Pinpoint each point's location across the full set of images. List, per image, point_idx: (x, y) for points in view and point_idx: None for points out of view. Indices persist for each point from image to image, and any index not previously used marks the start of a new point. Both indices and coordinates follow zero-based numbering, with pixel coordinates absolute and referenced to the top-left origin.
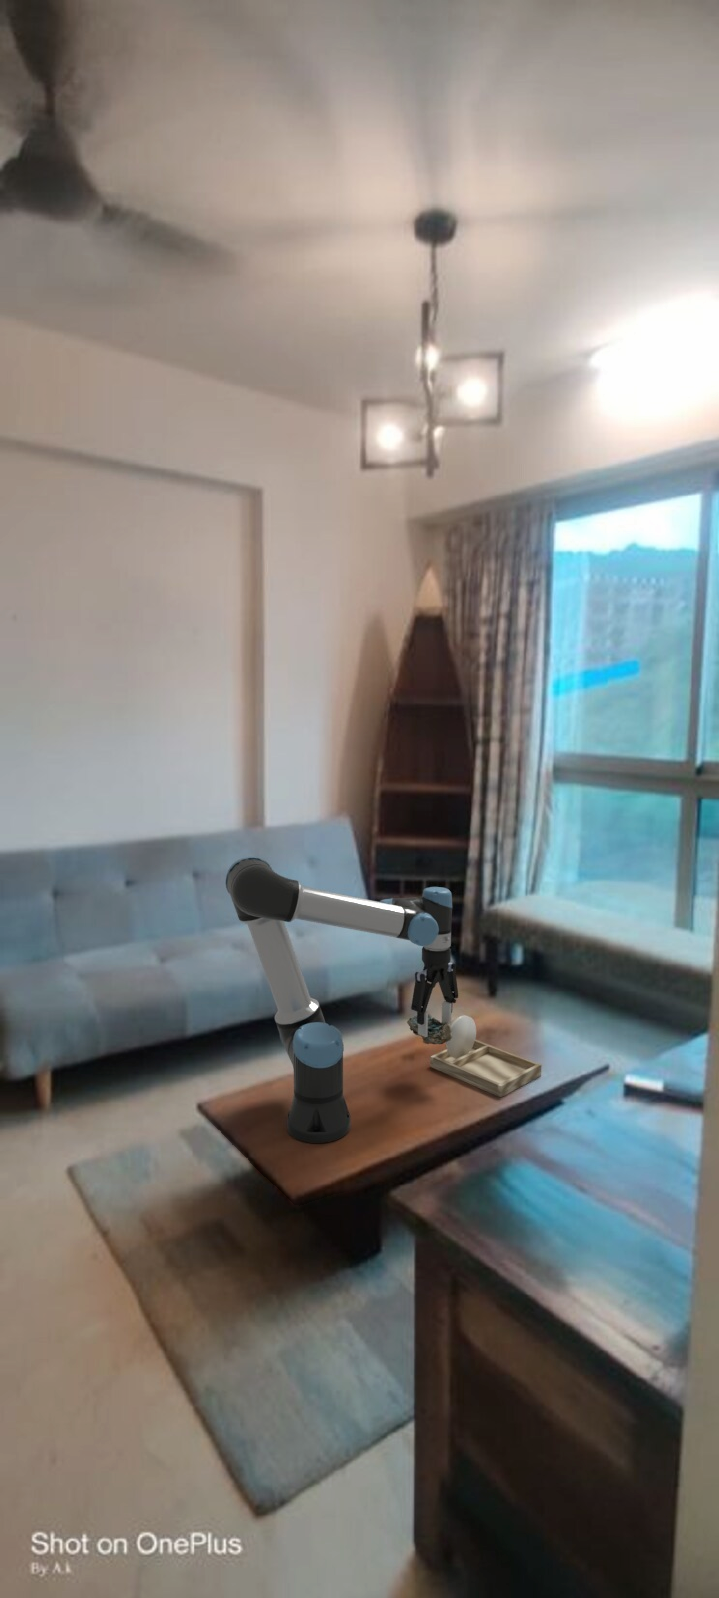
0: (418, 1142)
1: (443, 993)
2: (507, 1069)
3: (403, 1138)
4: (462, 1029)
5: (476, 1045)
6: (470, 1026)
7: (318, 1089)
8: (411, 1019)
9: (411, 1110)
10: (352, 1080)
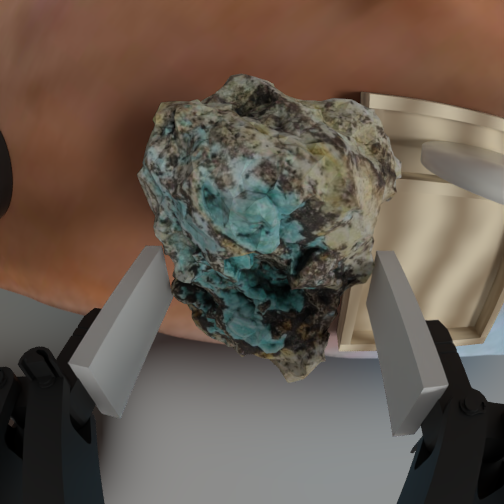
0: (85, 310)
1: (426, 481)
2: (460, 284)
3: (69, 287)
4: None
5: None
6: None
7: None
8: (171, 140)
9: (126, 235)
10: (98, 14)
